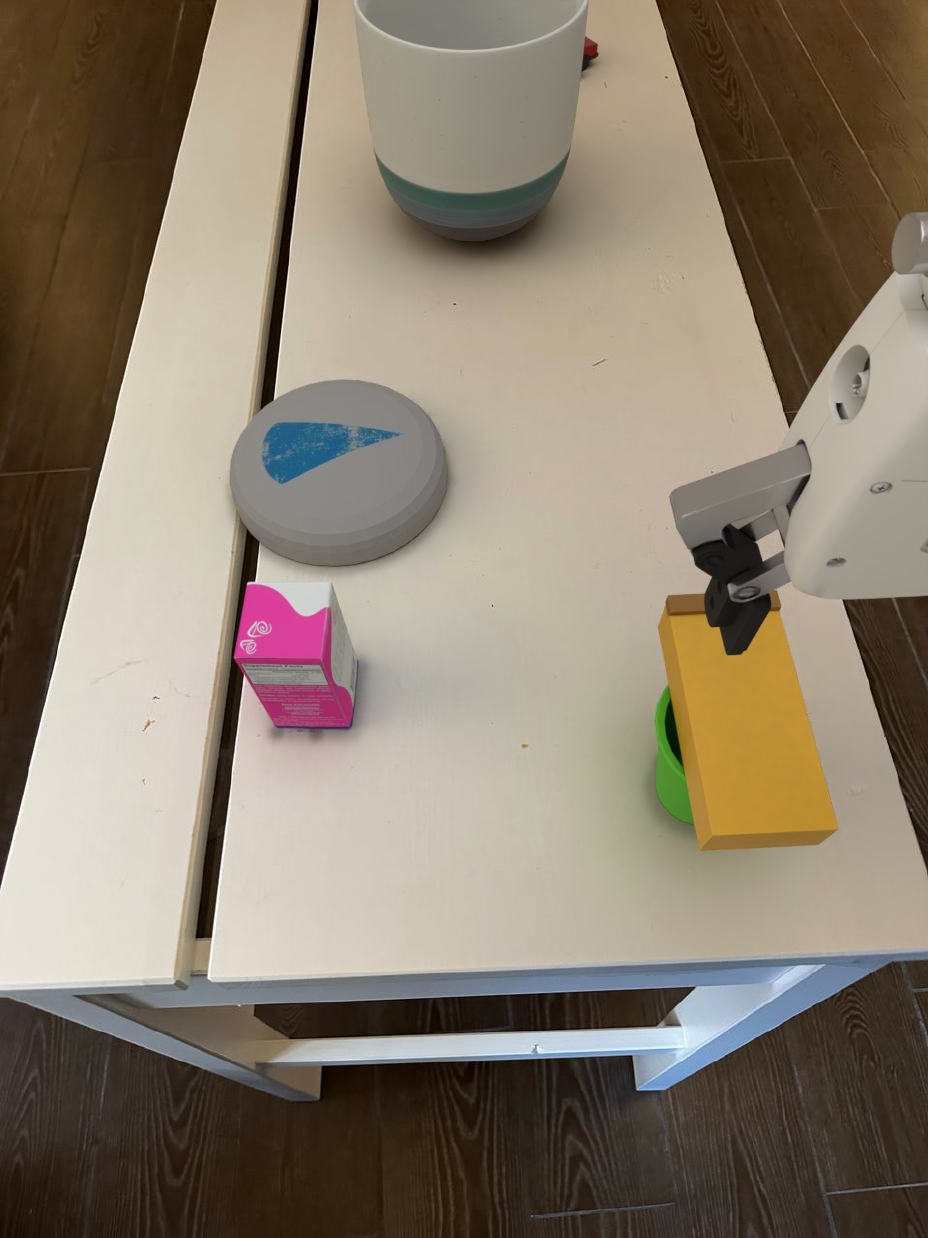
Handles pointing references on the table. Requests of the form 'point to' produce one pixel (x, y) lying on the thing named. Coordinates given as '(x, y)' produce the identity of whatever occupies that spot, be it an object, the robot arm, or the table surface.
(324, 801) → the table surface
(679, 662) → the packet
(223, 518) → the table surface
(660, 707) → the cup
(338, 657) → the supplement box
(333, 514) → the grey frisbee
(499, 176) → the planter
